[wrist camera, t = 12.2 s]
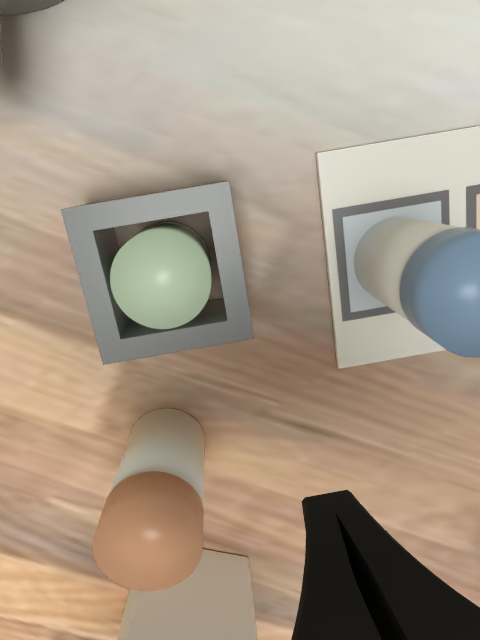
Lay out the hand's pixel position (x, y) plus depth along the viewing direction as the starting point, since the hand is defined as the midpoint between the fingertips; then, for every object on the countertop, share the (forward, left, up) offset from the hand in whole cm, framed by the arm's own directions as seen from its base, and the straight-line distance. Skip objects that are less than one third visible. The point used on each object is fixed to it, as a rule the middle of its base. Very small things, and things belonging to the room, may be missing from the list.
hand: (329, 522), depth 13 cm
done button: (+7, +4, -9) cm, 12 cm away
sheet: (+5, -9, -10) cm, 14 cm away
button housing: (+7, +4, -10) cm, 13 cm away
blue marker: (+5, -6, -10) cm, 12 cm away
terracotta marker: (-2, +6, -10) cm, 12 cm away
